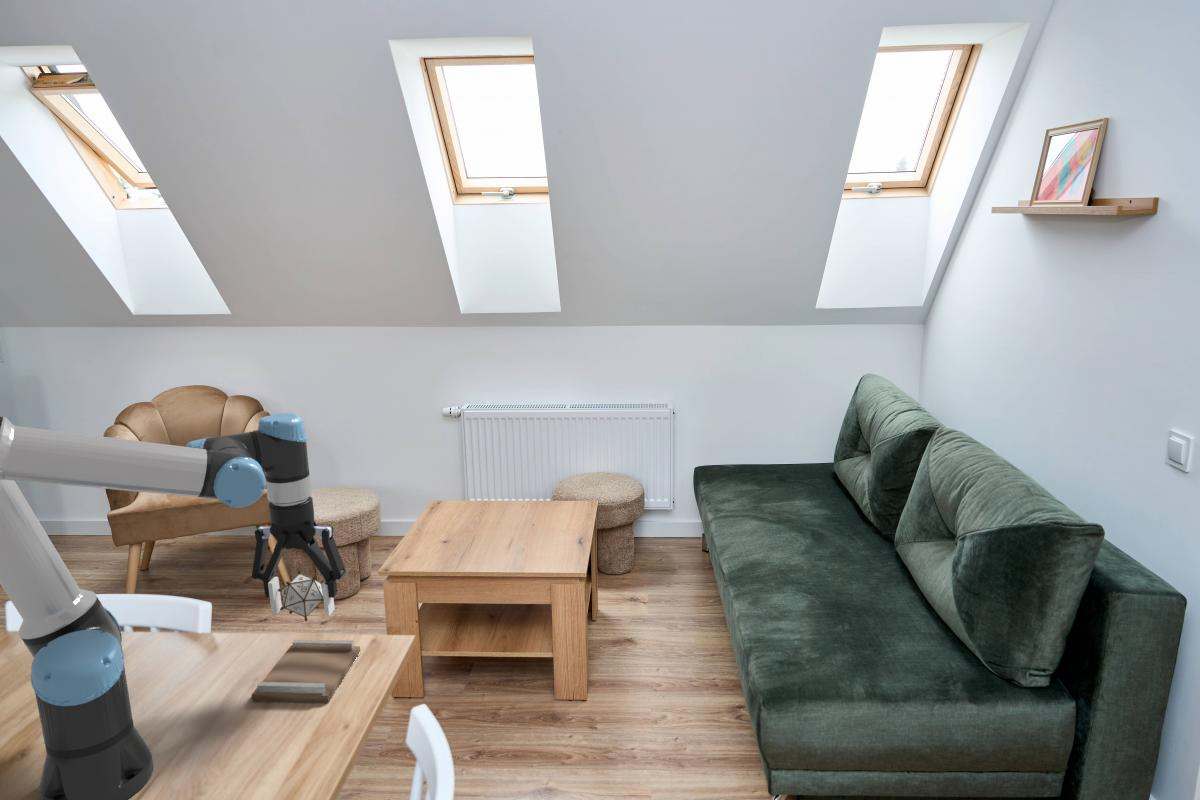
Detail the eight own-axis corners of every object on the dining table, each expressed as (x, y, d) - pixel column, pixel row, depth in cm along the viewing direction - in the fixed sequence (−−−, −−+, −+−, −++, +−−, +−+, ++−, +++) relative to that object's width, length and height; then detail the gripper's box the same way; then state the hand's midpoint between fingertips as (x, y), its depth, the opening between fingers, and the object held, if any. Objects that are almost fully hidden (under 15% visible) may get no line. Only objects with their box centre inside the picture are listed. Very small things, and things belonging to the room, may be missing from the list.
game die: (318, 631, 159) (345, 593, 156) (278, 633, 152) (306, 594, 150) (299, 595, 164) (325, 558, 161) (260, 597, 157) (286, 558, 154)
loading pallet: (328, 703, 152) (326, 688, 151) (252, 701, 152) (250, 686, 152) (360, 653, 168) (359, 639, 168) (292, 651, 169) (290, 638, 168)
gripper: (357, 491, 155) (368, 603, 160) (240, 491, 156) (255, 602, 162) (342, 506, 148) (354, 622, 153) (220, 506, 149) (236, 621, 154)
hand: (303, 612), depth 157 cm, fingers closed on game die, 9 cm apart
